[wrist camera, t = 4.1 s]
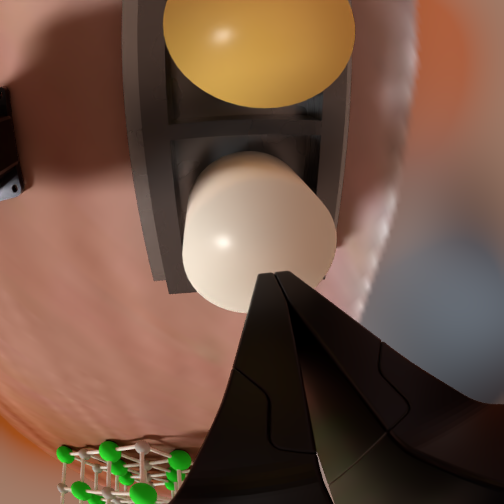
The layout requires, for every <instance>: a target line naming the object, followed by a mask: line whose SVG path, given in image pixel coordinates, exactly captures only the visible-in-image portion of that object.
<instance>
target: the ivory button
mask: <svg viewBox="0 0 504 504" xmlns="http://www.w3.org/2000/svg"><path fill="white" fill-rule="evenodd" d="M336 244H337V235H336V228H335V224H334V221H333V218H332V216H331V214H330V212H329V211H328V209H327V208H326V206H325V205H324V204H323V203H322V201H321V200H320V199H319V198H318V197H317V196H316V195H315V193H314V192H313V191H312V190H311V189H310V188H309V187H308V186H307V185H306V184H305V183H304V181H303V180H302V179H301V178H300V177H299V176H298V175H297V174H296V173H295V172H294V171H293V170H292V169H291V168H290V167H289V166H288V165H287V164H286V163H285V162H283V161H282V160H280V159H279V158H277V157H275V156H272V155H270V154H267V153H263V152H257V151H241V152H236V153H231V154H228V155H226V156H223V157H221V158H219V159H217V160H216V161H214V162H213V163H211V164H210V165H208V166H207V167H206V168H205V169H204V170H203V171H202V172H201V173H200V175H199V176H198V177H197V179H196V180H195V182H194V184H193V186H192V188H191V191H190V194H189V198H188V205H187V213H186V221H185V230H184V240H183V251H182V257H183V265H184V269H185V272H186V275H187V277H188V279H189V281H190V282H191V284H192V286H193V287H194V288H195V289H196V291H197V292H198V293H199V294H200V295H201V296H203V297H204V298H205V299H206V300H208V301H209V302H211V303H213V304H214V305H216V306H218V307H221V308H224V309H226V310H230V311H234V312H240V313H247V312H248V309H249V305H250V301H251V298H252V294H253V290H254V286H255V283H256V279H257V275H258V274H260V273H269V272H272V273H273V274H274V273H275V272H279V271H290V272H292V273H293V274H294V275H296V276H297V277H298V278H300V279H301V280H302V281H304V282H305V283H306V284H308V285H309V286H310V287H312V288H313V289H314V288H315V287H316V286H317V285H318V284H319V283H320V282H321V281H322V279H323V278H324V276H325V275H326V274H327V272H328V270H329V268H330V266H331V264H332V261H333V259H334V255H335V251H336Z"/></svg>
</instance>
